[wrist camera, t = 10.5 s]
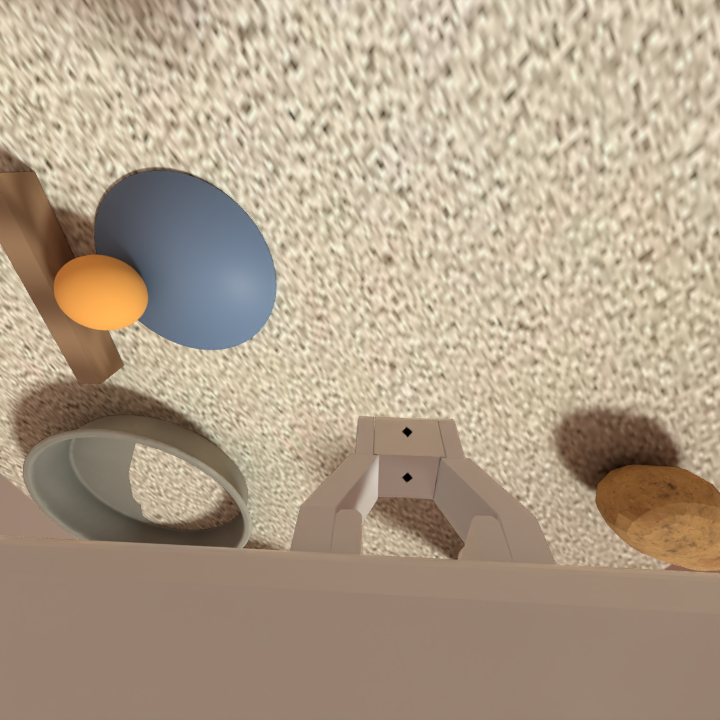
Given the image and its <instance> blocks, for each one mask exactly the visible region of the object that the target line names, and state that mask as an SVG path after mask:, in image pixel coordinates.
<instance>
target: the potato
mask: <svg viewBox="0 0 720 720" xmlns="http://www.w3.org/2000/svg"><path fill="white" fill-rule="evenodd" d="M595 501H596V504H597V508H598V510H599V511H600V513H601V515H602V516H603V518H604V520H605V521H606V523H607V524H608V525H609V527H610V528H611V529H612V530H613V531H614V532H615V533H616V534H617V535H618V536H619V537H620V538H621V539H622V540H623V541H625V542H626V543H627V544H628V545H629V546H631V547H633V548H634V549H636V550H638V551H639V552H641V553H643V554H646V555H648V556H651V557H654V558H656V559H659V560H662V561H665V562H667V563H670V564H674V565H678V566H681V567H684V568H688V569H693V570H697V571H713V570H720V492H719V491H718V490H717V489H716V488H715V486H714V485H713V484H711V483H709V482H708V481H706V480H704V479H702V478H700V477H699V476H697V475H695V474H693V473H691V472H689V471H688V470H686V469H682V468H678V467H668V466H652V465H627V466H624V467H621V468H618V469H615V470H612V471H610V472H609V473H608V474H607V475H606V476H605V477H604V478H603V479H602V480H601V481H600V482H599V483H598V486H597V493H596V500H595Z"/></svg>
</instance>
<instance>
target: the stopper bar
mask: <svg viewBox="0 0 720 720" xmlns="http://www.w3.org/2000/svg"><path fill="white" fill-rule="evenodd" d="M0 244H1V246H2V247H3V249H4V251H5V253H6V254H7V256H8V258H9V260H10V261H11V263H12V265H13V267H14V269H15V270H16V272H17V274H18V276H19V277H20V279H21V281H22V283H23V284H24V286H25V288H26V290H27V292H28V293H29V295H30V297H31V299H32V300H33V302H34V304H35V306H36V307H37V309H38V311H39V313H40V315H41V316H42V318H43V320H44V322H45V323H46V325H47V327H48V329H49V330H50V332H51V334H52V336H53V338H54V339H55V341H56V343H57V345H58V346H59V348H60V350H61V352H62V353H63V355H64V357H65V359H66V361H67V362H68V364H69V366H70V368H71V369H72V371H73V373H74V375H75V376H76V378H77V380H78V382H79V383H92V384H101V383H103V382H104V381H105V380H106V379H108V378H109V377H110V376H111V375H113V374H114V373H115V372H116V371H118V370H119V369H120V368H121V367H123V366H124V364H123V362H122V360H121V358H120V355H119V353H118V351H117V349H116V347H115V345H114V342H113V340H112V338H111V336H110V334H109V332H108V330H96V329H92V328H88V327H85V326H83V325H81V324H79V323H77V322H75V321H74V320H72V319H71V318H69V317H68V316H67V315H66V314H65V313H64V312H63V311H62V309H61V308H60V307H59V305H58V303H57V301H56V299H55V295H54V281H55V277H56V275H57V273H58V272H59V270H60V269H61V268H62V267H63V266H64V265H65V264H66V263H68V262H69V261H71V260H73V259H75V258H74V256H73V253H72V251H71V249H70V247H69V245H68V243H67V240H66V238H65V236H64V234H63V232H62V230H61V227H60V225H59V223H58V221H57V219H56V217H55V214H54V212H53V210H52V208H51V206H50V204H49V201H48V199H47V197H46V195H45V193H44V191H43V188H42V186H41V184H40V182H39V180H38V178H37V175H36V173H35V172H0Z"/></svg>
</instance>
